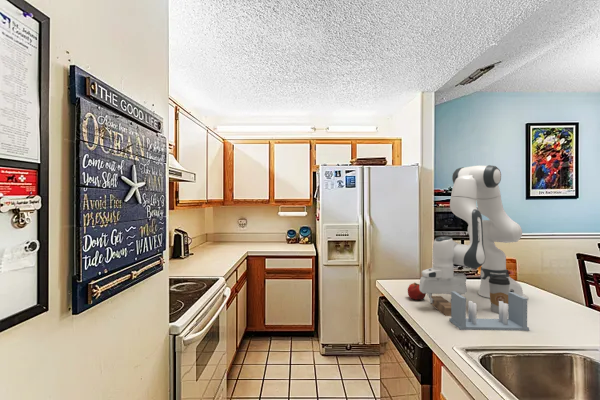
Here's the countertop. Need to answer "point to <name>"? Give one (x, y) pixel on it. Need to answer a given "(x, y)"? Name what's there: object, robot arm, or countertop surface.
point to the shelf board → (442, 305)
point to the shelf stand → (509, 319)
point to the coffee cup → (498, 291)
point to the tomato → (415, 292)
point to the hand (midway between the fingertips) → (442, 303)
